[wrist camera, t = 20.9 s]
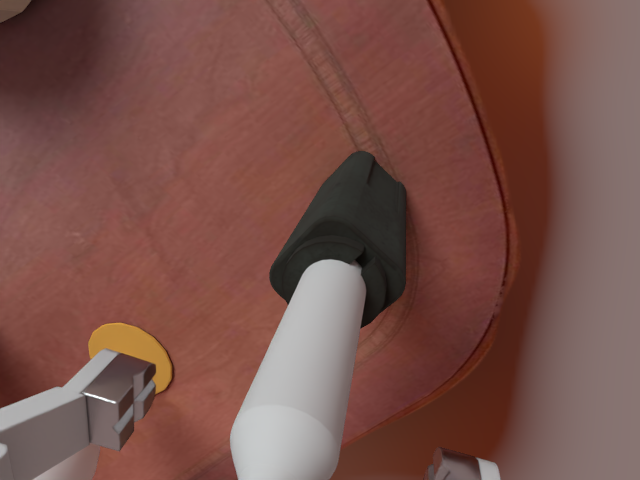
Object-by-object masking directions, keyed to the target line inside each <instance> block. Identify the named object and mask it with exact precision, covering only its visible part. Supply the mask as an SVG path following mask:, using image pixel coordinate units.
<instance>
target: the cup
mask: <svg viewBox="0 0 640 480" xmlns="http://www.w3.org/2000/svg"><path fill="white" fill-rule="evenodd" d="M88 345H89V355H90V358H91V359H92V358H93V357H94V356H95V355H96V354H97V353H98V352H99V351H101V350H103V349H105V348H107V349H110V350H113V351H117V352H120V353H123V354H127V355H130V356H133V357H136V358H139V359H142V360H145V361H148V362H151V363H154V364H156V374H155V375H154V377H153V378H152V380H153V381H154V383H155V384H156V392H155V394H157V393H159V392H161V391H163V390H165V389H166V388H167V386H168V384H169V383H170V381H171V380H172V363H171V361H170V359H169V357H168V354H167V352H166V350H165V349H164V348H163V347H162V346H161V345H160V343H159V342H158V341H157V340H156V339H155V338H154V337H153V336H151V335H149V334H148V333H146V332H145V331H143V330H141V329H140V328H138V327H135V326H131V325H127V324H124V323H110V324H104V325H103V326H101V327H100V328H98V329H96V330H95V331H94V332H93V333H92V336H91V338H90V340H89V342H88ZM99 453H100V446H99V445H95V444H92V443H90V445H89V446H87V447H85V448H84V449H82V450H80V451H79V452H77V453H75V454H74V455H72V456H70V457H69V458H67V459H66V460H64V461H62V462H61V463H59V464H57V465H56V466H54V467H52V468H51V469H49V470H47V471H46V472H44V473H42V474H41V475H39V476H38V477H36V478H34V479H33V480H92V478H93V476H94V474H95V471H96V467H97V462H98V458H99Z"/></svg>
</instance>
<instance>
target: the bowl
mask: <svg viewBox="0 0 640 480" xmlns="http://www.w3.org/2000/svg"><path fill="white" fill-rule="evenodd" d="M30 2H31V0H0V23H1V22H3V21H5V20H7V19H9V18H11V17H13V16H15V15H17V14H19V13H21V12H23V11H24V9H25V8H26V7H27V6H28V4H29V3H30Z"/></svg>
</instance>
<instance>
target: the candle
mask: <svg viewBox="0 0 640 480" xmlns="http://www.w3.org/2000/svg"><path fill="white" fill-rule="evenodd" d="M269 279H270V282H271V285H272V287H273V289H274V290H275V291H276V292H277V293H278V294H279V295H280V296H281V297H282V298H283V299H285V300H286V302H287V304H288V307H287V309H286V311H285V313H284V316H283V318H282V320H281V322H280V324H279V326H278V329H277V331H276V333H275V335H274V337H273V339H272V342H271V344H270V346H269V348H268V350H267V352H266V354H265V357H264V359H263V361H262V363H261V365H260V367H259V370H258V372H257V374H256V376H255V378H254V380H253V383H252V385H251V387H250V389H249V391H248V393H247V396H246V398H245V400H244V402H243V404H242V406H241V408H240V411H239V413H238V415H237V417H236V419H235V422H234V424H233V427H232V430H231V435H230V447H231V452H232V457H233V462H234V465H235V469H236V473H237V476H238V480H329V479H330V478H331V476H332V474H333V473H334V471H335V469H336V467H337V464H338V459H339V453H340V447H341V441H342V435H343V429H344V423H345V417H346V411H347V405H348V399H349V393H350V387H351V381H352V375H353V369H354V363H355V357H356V351H357V345H358V339H359V333H360V329H361V328H362V327H364V326H366V325H368V324H369V323H371V322H372V321H373V320H374V319H375V318H376V317H377V316H378V315H379V314H380V313H381V312H382V311H383V310H385V309H386V308H387V307H389V306H390V305H391V304H392V303H394V302H395V301H396V300H397V299H398V298H399V297H400V296H401V295H402V293H403V291H404V289H405V284H406V190H405V187H404V185H403V184H402V183H401V182H396V181H395V180H394V179H393V178H392V177H391V176H390V175H389V174H388V173H387V172H386V171H385V170H384V169H383V168H382V167H381V166H380V165H379V164H378V163H377V162H375V161H374V156H373V155H372V154H370V153H368V152H365V151H358V152H355V153H353V154H351V155H350V156H349V157H348V158H347V159H346V160H345V161H344V162H343V163H342V164H341V165H340V166H339V167H338V169H337V170H336V171H335V172H334V173H333V174H332V175H331V176H330V177H329V178H328V179H327V180H326V181H325V182H324V183H323V185H322V186H321V188H320V189H319V191H318V193H317V194H316V196H315V197H314V199H313V201H312V202H311V204H310V205H309V207H308V209H307V210H306V212H305V213H304V215H303V217H302V218H301V220H300V221H299V223H298V225H297V226H296V228H295V229H294V231H293V233H292V234H291V236H290V237H289V239H288V241H287V242H286V244H285V245H284V247H283V249H282V250H281V252H280V253H279V255H278V257H277V258H276V260H275V261H274V263H273V265H272V266H271V269H270V277H269Z"/></svg>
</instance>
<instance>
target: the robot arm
mask: <svg viewBox="0 0 640 480" xmlns="http://www.w3.org/2000/svg"><path fill="white" fill-rule="evenodd" d="M155 374H156V364H154V363H151V362H148V361H145V360H142V359H139V358H136V357H133V356H130V355H127V354H123V353H120V352H117V351H113V350H110V349H107V348H105V349H103V350H101V351H99V352H98V353H97V354H96V355H95V356H94V357H93V358H92V359H91V360H90V361H89V362H88V363H87V364H86V365H85V366H84V367H83V368H82V369H81V370H80V371H79V372H78V373H77V374H76V375H75V376H74V377H73V378H72V379H71V380H70V381H69V382H68V383H67V384H66V385H65V386H64V387H63V388H61V387H55V388H52V389H50V390H47V391H44V392H42V393H39V394H37V395H34V396H32V397H29V398H26V399H24V400H21V401H19V402H16V403H13V404H11V405H8V406H6V407H3V408H1V409H0V480H33V479H34V478H36V477H38V476H39V475H41V474H42V473H44V472H46V471H47V470H49V469H51V468H52V467H54V466H56V465H57V464H59V463H61V462H62V461H64V460H66V459H67V458H69V457H70V456H72V455H74V454H75V453H77V452H79V451H80V450H82V449H84V448H85V447H87V446H89V445H90V443H92V444H95V445H99V446H103V447H106V448H110V449H113V450H117V451H120V450H121V448H122V447H123V445H124V444H125V443H126V441H127V440H128V439H129V437H130V436H131V434H132V433H133V432H134V422H136V421H138V420H140V419H142V418H144V416H145V415H146V413H147V412H148V410H149V409H150V407H151V404H152V402H153V400H154V397H155V392H156V384H155V383H154V381H153V380H152V378H153V377H154V375H155ZM423 480H501V478H500V474H499V470H498V466H497V465H496V463H494V462H490V461H487V460H483V459H480V458H475V457H473V456H470V455H467V454H463V453H460V452H456V451H453V450H449V449H445V448H442V447H438V448H437V449H436V450H435V452H434V455H433V464H432V465H430V466H428V468H427V470H426V473H425V475H424V479H423Z"/></svg>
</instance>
